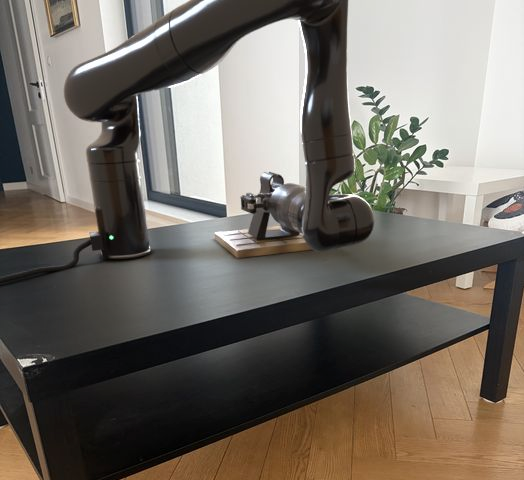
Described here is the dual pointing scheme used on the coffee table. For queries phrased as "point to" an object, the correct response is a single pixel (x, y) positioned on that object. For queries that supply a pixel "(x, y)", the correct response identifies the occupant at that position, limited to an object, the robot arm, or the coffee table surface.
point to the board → (259, 243)
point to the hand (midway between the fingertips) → (268, 196)
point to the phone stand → (262, 218)
